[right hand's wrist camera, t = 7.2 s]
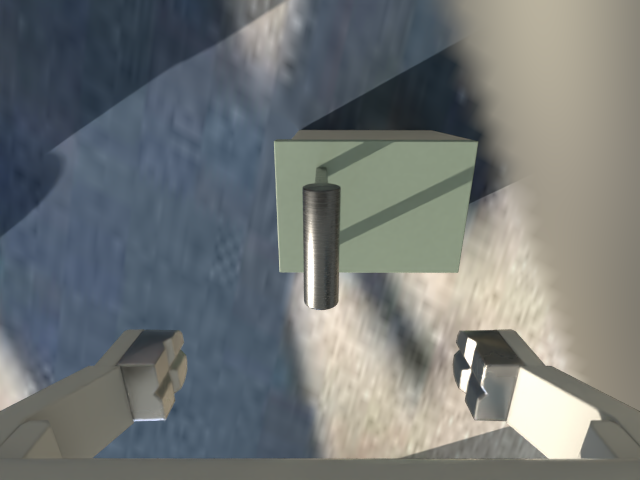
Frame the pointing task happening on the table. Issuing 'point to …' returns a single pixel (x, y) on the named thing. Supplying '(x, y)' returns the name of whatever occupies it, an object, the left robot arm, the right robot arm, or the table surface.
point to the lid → (370, 208)
